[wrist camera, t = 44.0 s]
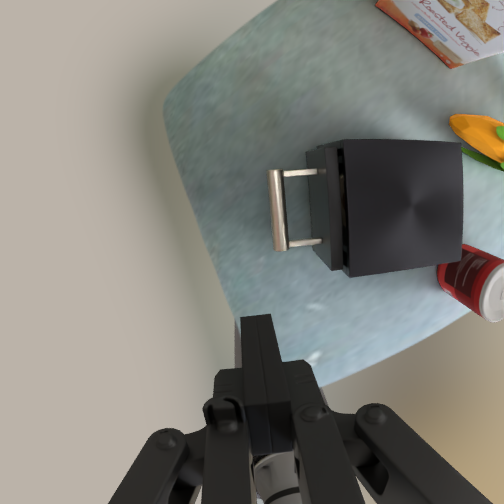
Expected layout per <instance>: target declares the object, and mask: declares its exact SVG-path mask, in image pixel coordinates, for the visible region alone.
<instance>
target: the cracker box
mask: <svg viewBox="0 0 504 504" xmlns="http://www.w3.org/2000/svg"><path fill="white" fill-rule="evenodd" d="M375 6H377V7H378V8H380V9H381V10H382V11H384V12H385V13H386V14H388V15H389V16H390V17H392V18H393V19H394V20H396V21H397V22H398V23H400V24H401V25H402V26H403V27H405V28H406V29H407V30H408V31H409V32H411V33H412V34H413V35H414V36H415V37H417V38H418V39H419V40H420V41H421V42H422V43H424V44H425V45H426V46H427V47H428V48H429V49H430V50H431V51H432V52H434V53H435V54H436V55H437V56H438V57H439V58H440V59H441V60H442V61H443V62H444V63H445V64H446V65H447V66H448V67H449V68H450V69H452V68H455V67H458V66H461V65H464V64H467V63H470V62H473V61H476V60H480V59H483V58H486V57H489V56H493V55H496V54H500V53H503V52H504V0H378V2H377V3H376V4H375Z"/></svg>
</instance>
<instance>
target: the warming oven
mask: <svg viewBox="0 0 504 504" xmlns="http://www.w3.org/2000/svg"><path fill="white" fill-rule="evenodd" d="M324 147H337V153H338V156H339V155H342V166H343V179H344V195H345V214H346V241H347V253H346V252H345V251H344V250H343V269H342V271H343V272H344V273H345V274H346V275H347V276H348V277H349V278H352V277H359V276H366V275H373V274H380V273H387V272H394V271H401V270H407V269H414V268H420V267H427V266H433V265H439V264H445V263H451V262H457V261H461V251H462V234H463V166H462V149H461V143H457V142H443V141H425V140H395V139H345V140H340V141H336V142H332V143H328V144H324V145H320V146H317V149H320V148H324Z"/></svg>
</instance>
